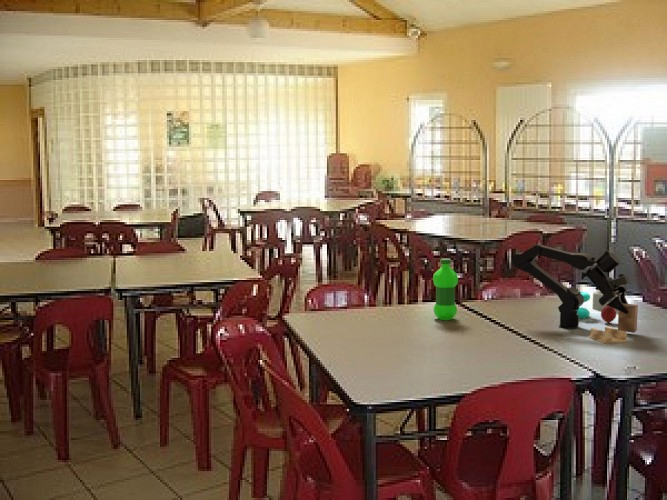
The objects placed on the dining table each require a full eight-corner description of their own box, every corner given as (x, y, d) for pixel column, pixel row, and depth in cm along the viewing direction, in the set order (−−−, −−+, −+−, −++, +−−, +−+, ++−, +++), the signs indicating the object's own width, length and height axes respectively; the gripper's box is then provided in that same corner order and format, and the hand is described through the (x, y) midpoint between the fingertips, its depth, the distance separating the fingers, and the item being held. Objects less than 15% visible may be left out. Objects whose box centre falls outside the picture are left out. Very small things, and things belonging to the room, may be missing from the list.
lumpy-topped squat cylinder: (589, 309, 347) (589, 289, 346) (603, 304, 356) (604, 285, 354) (611, 312, 339) (612, 292, 338) (626, 308, 348) (626, 288, 347)
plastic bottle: (456, 316, 334) (457, 257, 331) (458, 321, 323) (458, 260, 320) (432, 316, 335) (433, 257, 332) (433, 321, 324) (433, 260, 321)
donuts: (562, 290, 335) (586, 290, 335) (561, 314, 337) (585, 314, 336) (568, 295, 325) (593, 295, 325) (568, 319, 327) (592, 319, 326)
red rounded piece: (616, 325, 315) (617, 305, 314) (601, 324, 316) (602, 304, 315) (614, 321, 320) (615, 302, 319) (599, 321, 322) (600, 302, 321)
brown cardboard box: (617, 330, 300) (618, 304, 299) (620, 328, 303) (621, 303, 301) (634, 332, 296) (635, 306, 295) (636, 330, 299) (637, 304, 298)
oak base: (589, 337, 294) (589, 328, 294) (609, 335, 297) (609, 326, 297) (607, 343, 285) (607, 334, 284) (627, 341, 288) (627, 332, 287)
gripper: (608, 270, 292) (638, 303, 287) (623, 264, 307) (652, 295, 302) (586, 289, 297) (615, 321, 292) (602, 282, 312) (630, 313, 307)
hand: (629, 312), depth 298 cm, fingers closed on brown cardboard box, 3 cm apart
